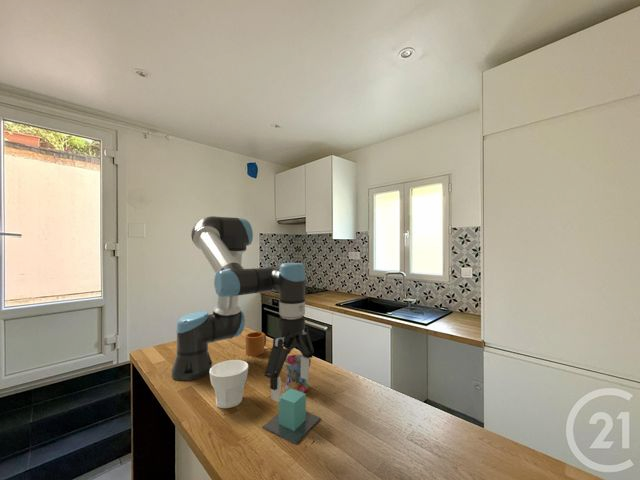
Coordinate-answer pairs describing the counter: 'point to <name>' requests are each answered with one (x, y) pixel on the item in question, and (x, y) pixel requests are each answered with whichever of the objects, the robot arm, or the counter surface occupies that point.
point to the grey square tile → (287, 433)
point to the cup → (229, 382)
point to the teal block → (292, 409)
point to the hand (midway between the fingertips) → (291, 388)
